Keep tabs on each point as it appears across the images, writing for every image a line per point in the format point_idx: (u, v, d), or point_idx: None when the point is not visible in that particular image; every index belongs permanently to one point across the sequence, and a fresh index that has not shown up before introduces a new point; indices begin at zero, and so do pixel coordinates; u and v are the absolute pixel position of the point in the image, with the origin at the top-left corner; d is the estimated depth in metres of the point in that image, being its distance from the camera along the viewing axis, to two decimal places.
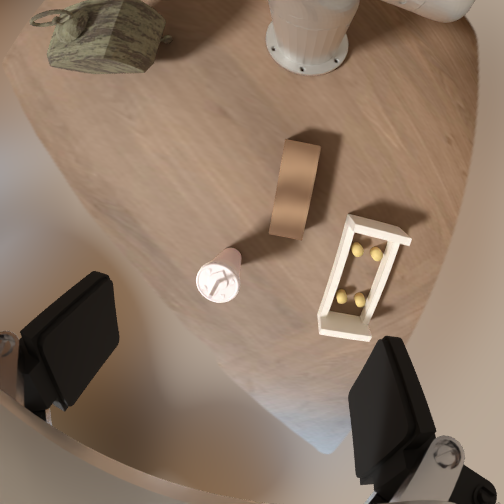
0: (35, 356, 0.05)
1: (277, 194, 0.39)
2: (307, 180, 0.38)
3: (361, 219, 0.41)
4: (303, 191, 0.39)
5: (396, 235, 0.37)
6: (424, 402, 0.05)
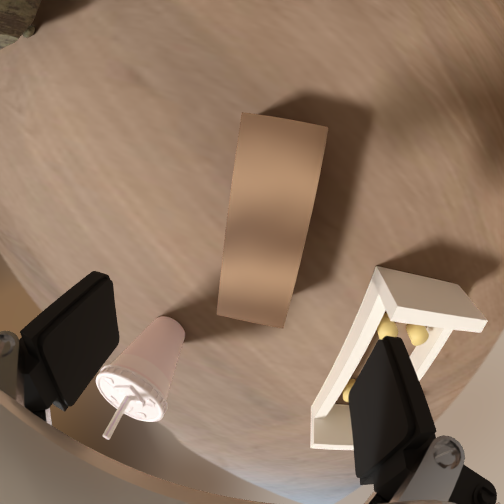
0: (35, 356, 0.05)
1: (228, 240, 0.18)
2: (296, 210, 0.17)
3: (402, 281, 0.20)
4: (285, 232, 0.17)
5: (466, 318, 0.16)
6: (424, 402, 0.05)
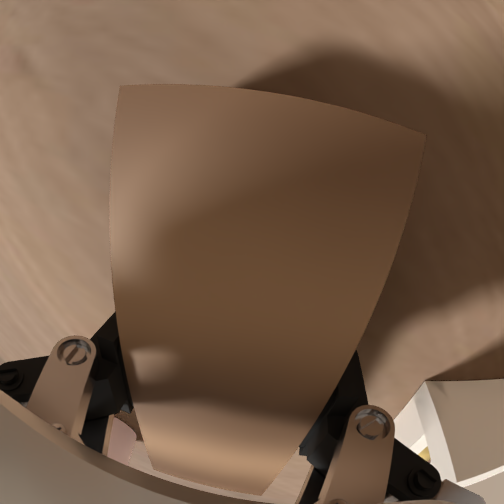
0: (112, 359, 0.06)
1: (140, 405, 0.07)
2: (295, 381, 0.06)
3: (463, 408, 0.09)
4: (264, 416, 0.06)
5: None
6: (350, 368, 0.06)
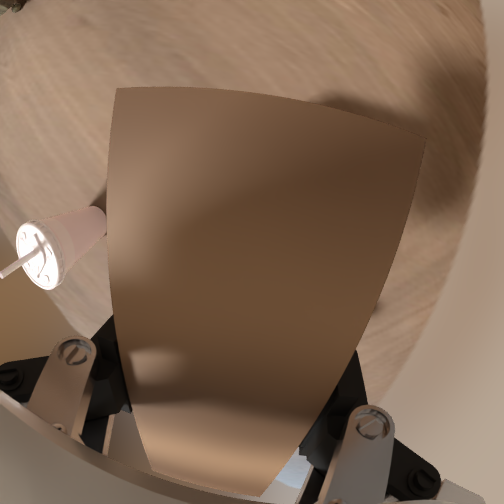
0: (112, 359, 0.06)
1: (138, 407, 0.07)
2: (292, 385, 0.05)
3: None
4: (262, 419, 0.06)
5: None
6: (350, 368, 0.06)
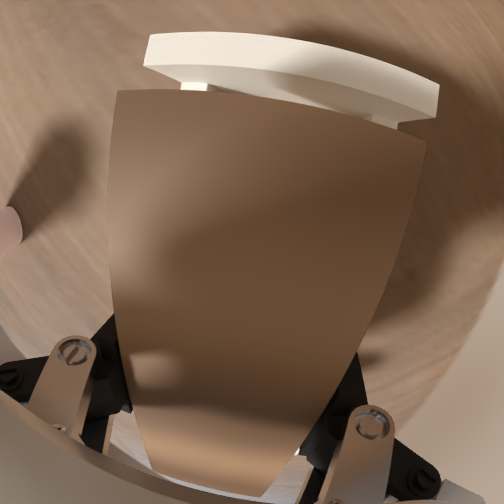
0: (112, 359, 0.06)
1: (140, 408, 0.07)
2: (293, 387, 0.05)
3: None
4: (263, 420, 0.06)
5: (361, 59, 0.06)
6: (350, 368, 0.06)
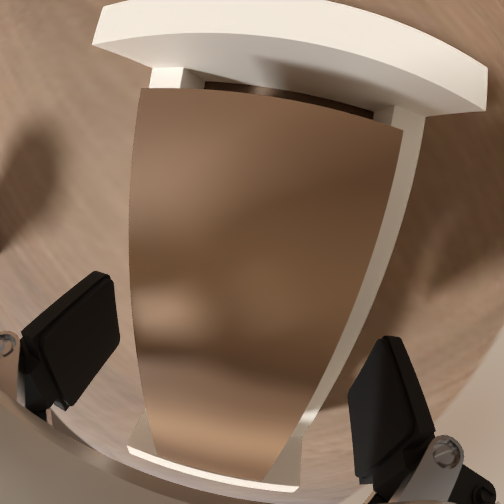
0: (36, 356, 0.05)
1: (148, 384, 0.08)
2: (293, 353, 0.06)
3: None
4: (265, 390, 0.07)
5: (388, 24, 0.04)
6: (423, 402, 0.05)
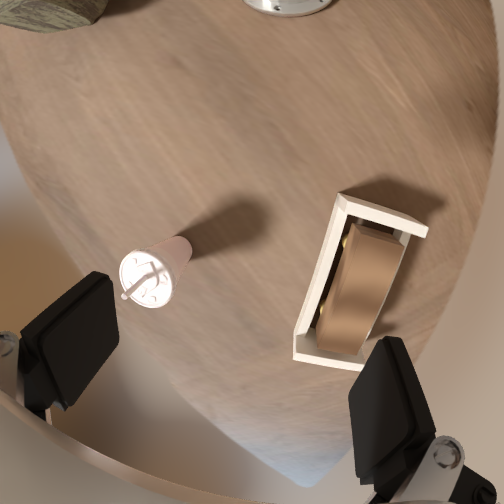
0: (35, 356, 0.05)
1: (338, 305, 0.28)
2: (379, 290, 0.27)
3: (356, 199, 0.29)
4: (371, 302, 0.28)
5: (407, 221, 0.25)
6: (424, 402, 0.05)
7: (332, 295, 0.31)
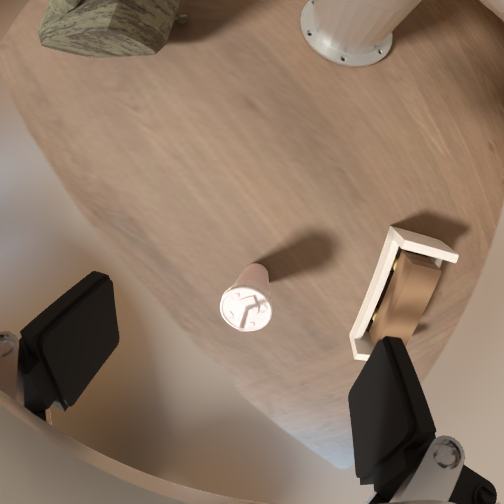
0: (35, 356, 0.05)
1: (392, 316, 0.34)
2: (422, 303, 0.33)
3: (406, 233, 0.34)
4: (415, 312, 0.34)
5: (444, 252, 0.30)
6: (424, 402, 0.05)
7: (385, 307, 0.37)
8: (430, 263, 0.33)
